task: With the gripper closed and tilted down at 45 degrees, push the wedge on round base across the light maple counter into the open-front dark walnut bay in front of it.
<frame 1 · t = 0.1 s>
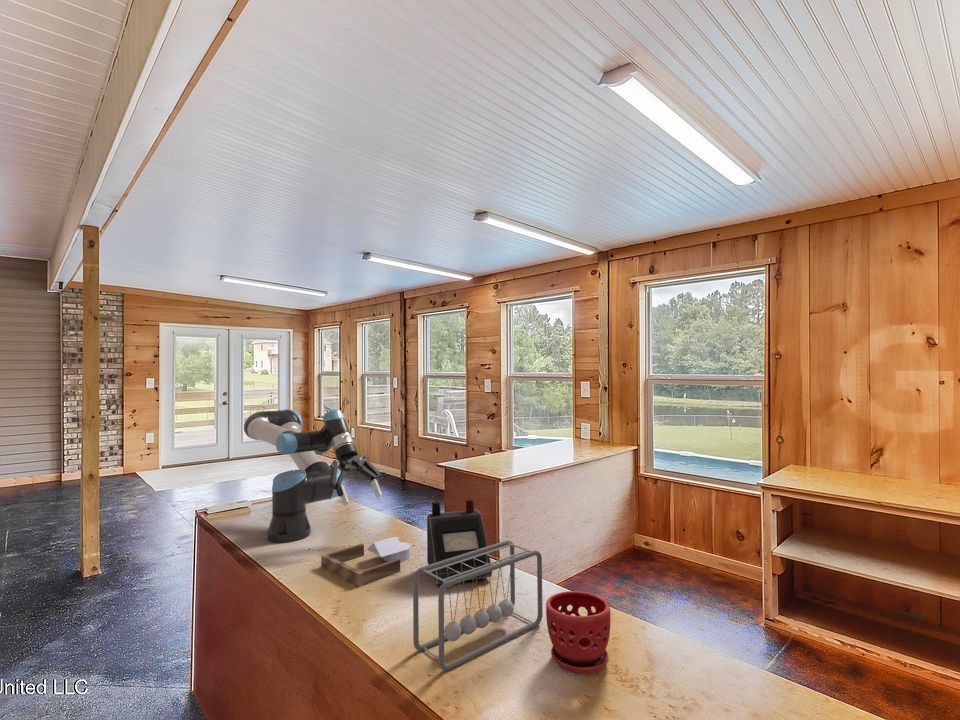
hand: (363, 500, 172), 15 cm above the counter, tool tilted 35°, fingers open, 13 cm apart
walnut bay: (362, 568, 150), on the counter
wedge on round base: (391, 559, 158), on the counter
newton's cradle: (481, 638, 110), on the counter
voltmeter: (458, 574, 145), on the counter
plant pot: (578, 661, 101), on the counter
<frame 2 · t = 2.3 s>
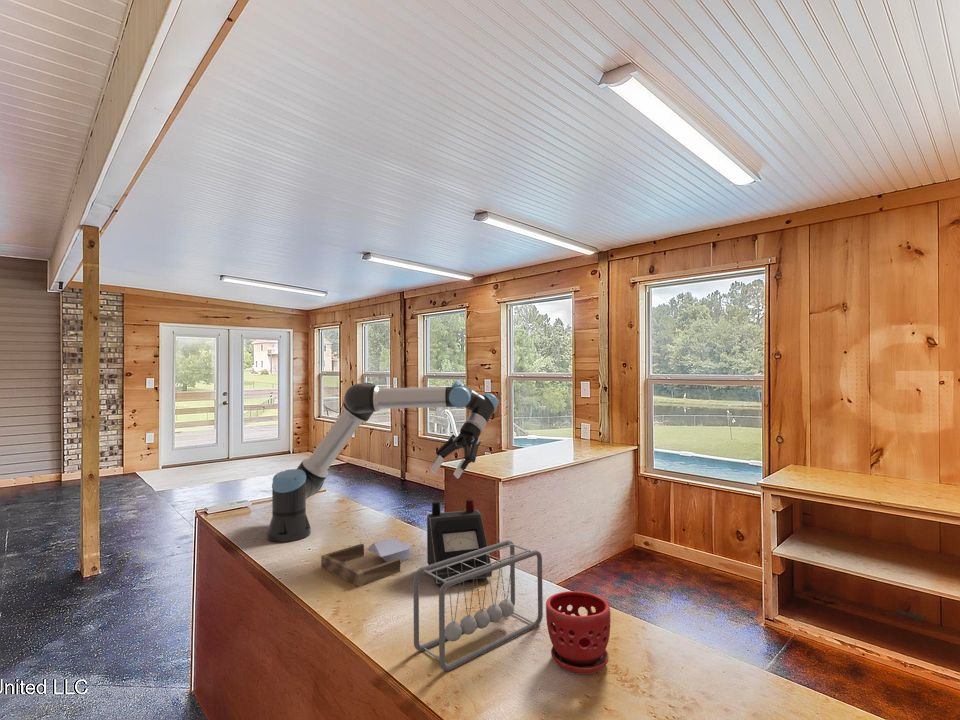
hand: (443, 474, 176), 24 cm above the counter, tool tilted 45°, fingers open, 12 cm apart
nothing on the counter moved.
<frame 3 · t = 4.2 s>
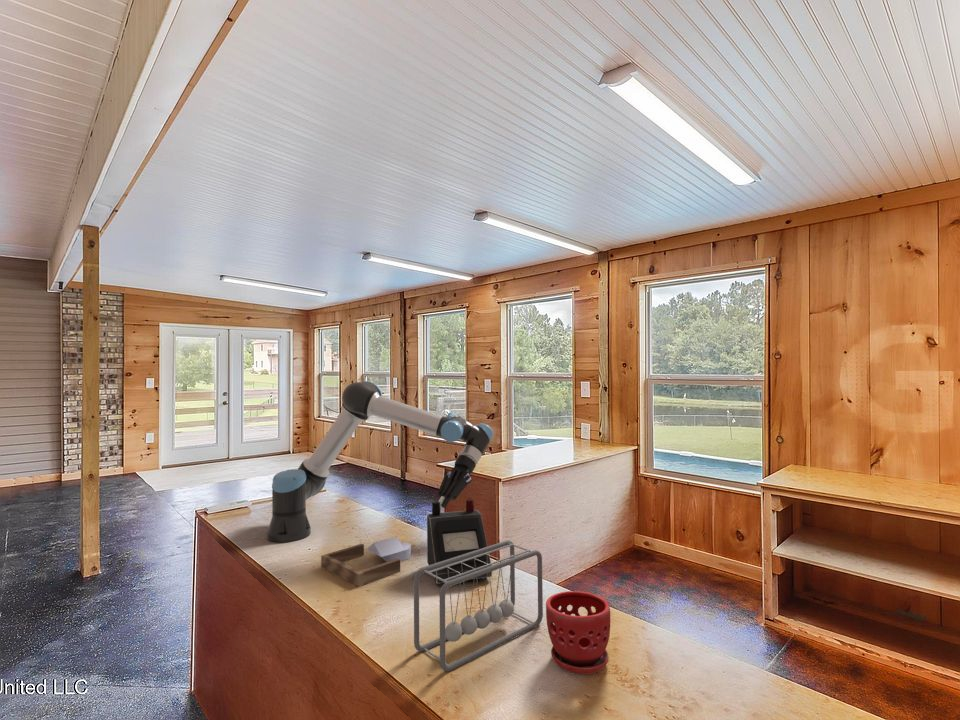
hand: (435, 514, 171), 10 cm above the counter, tool tilted 45°, fingers closed
nothing on the counter moved.
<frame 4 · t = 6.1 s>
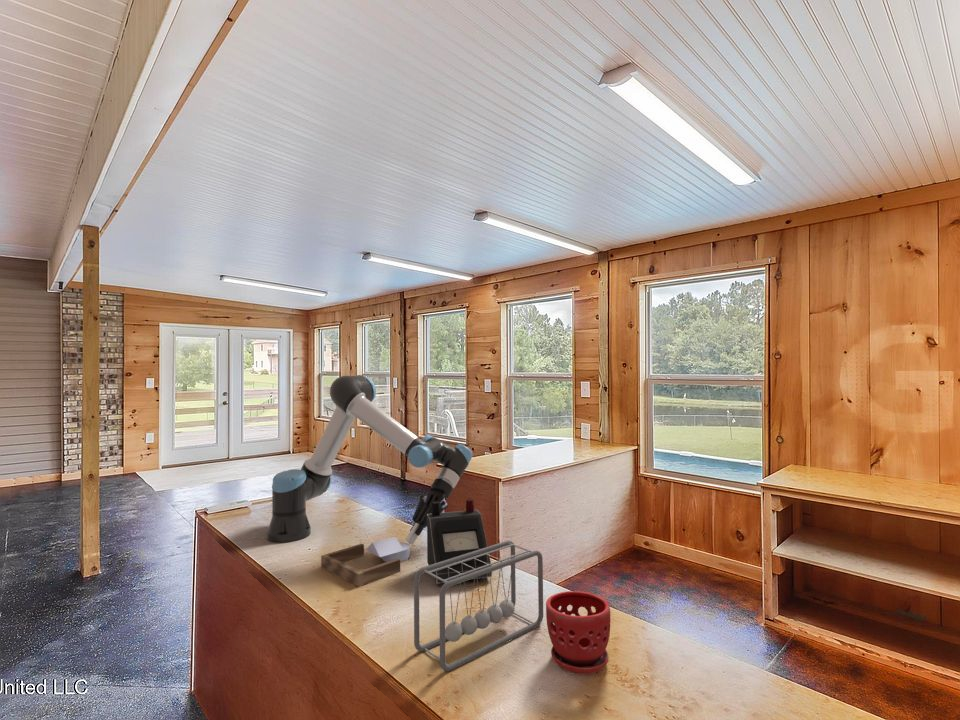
hand: (408, 542, 163), 3 cm above the counter, tool tilted 45°, fingers closed
wedge on round base: (390, 559, 158), on the counter, touching gripper
everything else where it was.
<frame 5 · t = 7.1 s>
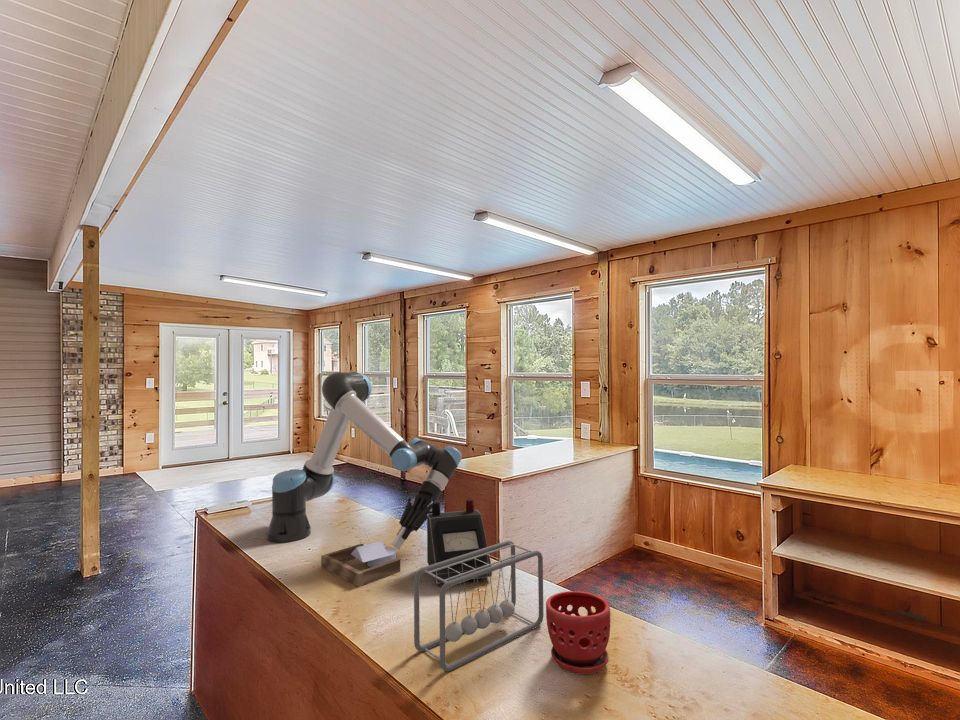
hand: (395, 546, 159), 4 cm above the counter, tool tilted 45°, fingers closed
wedge on round base: (376, 564, 154), on the counter, touching gripper
everything else where it was.
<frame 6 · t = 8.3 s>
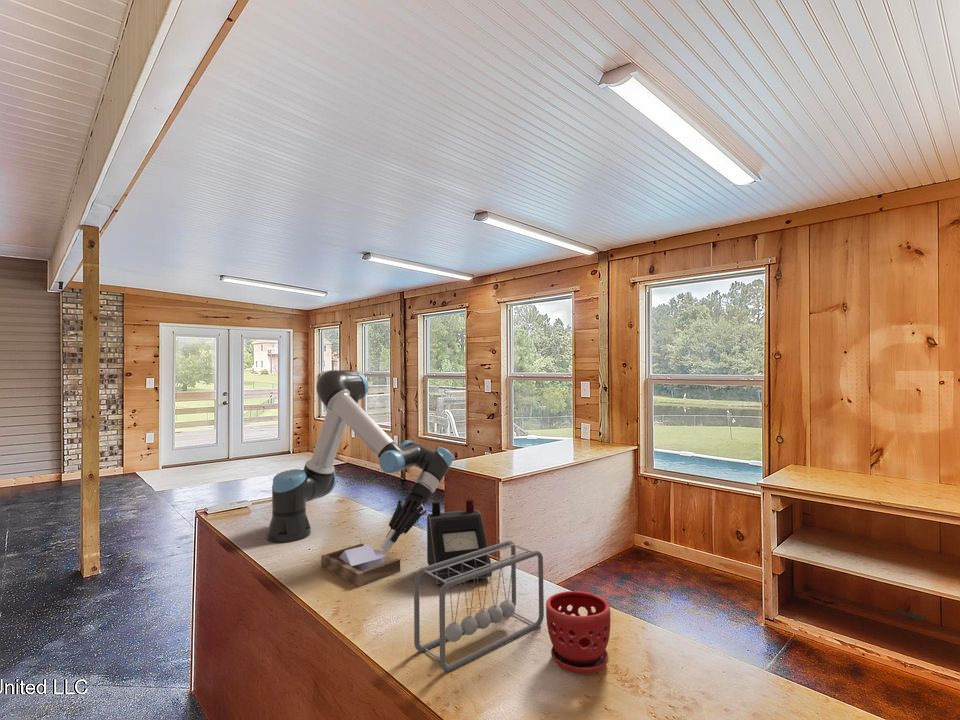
hand: (384, 549, 156), 4 cm above the counter, tool tilted 45°, fingers closed
wedge on round base: (364, 568, 151), on the counter
everything else where it was.
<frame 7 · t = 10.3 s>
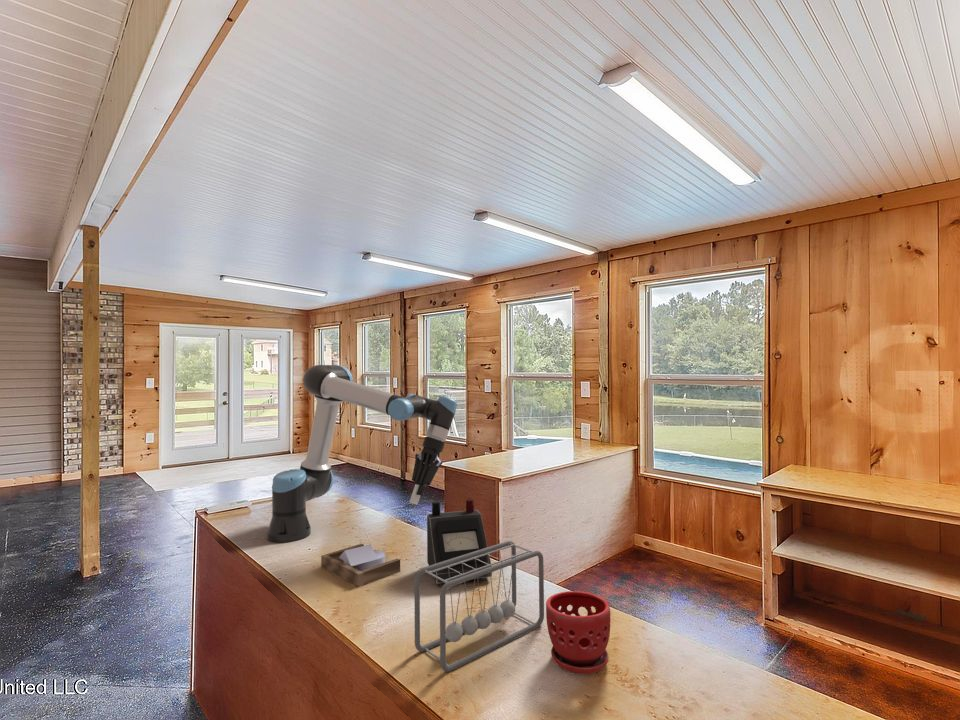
hand: (413, 503, 170), 15 cm above the counter, tool tilted 20°, fingers closed
nothing on the counter moved.
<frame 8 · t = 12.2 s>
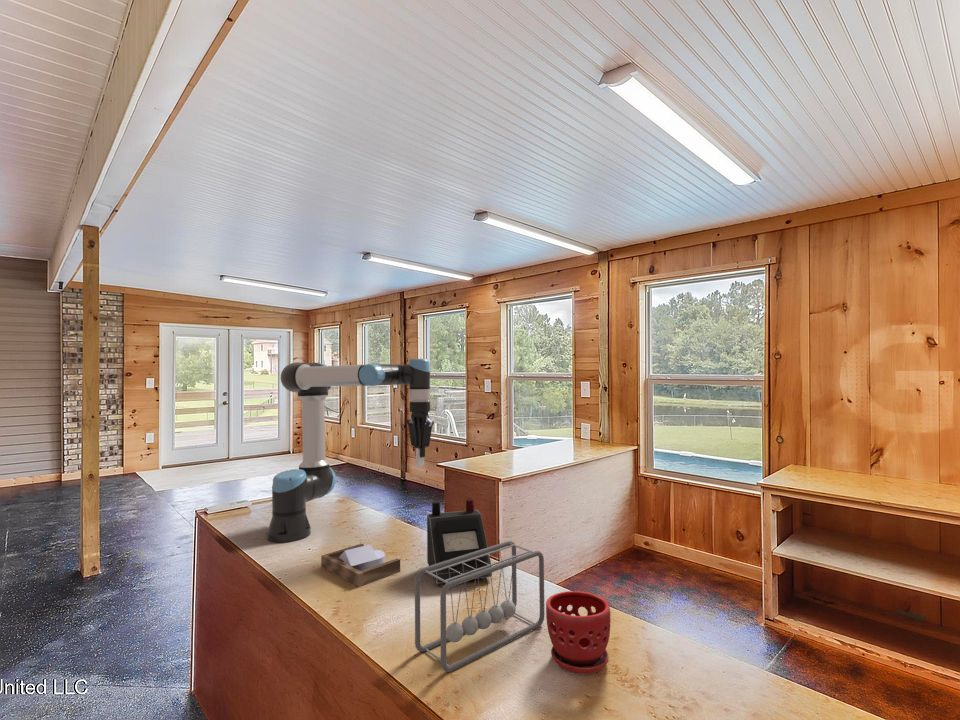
hand: (420, 465, 177), 26 cm above the counter, tool pointing down, fingers closed
nothing on the counter moved.
at the end: wedge on round base inside the target area on the walnut bay (0.8 cm from its centre), point 0.0 cm above the walnut bay's base; wedge on round base tilted 0° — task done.
